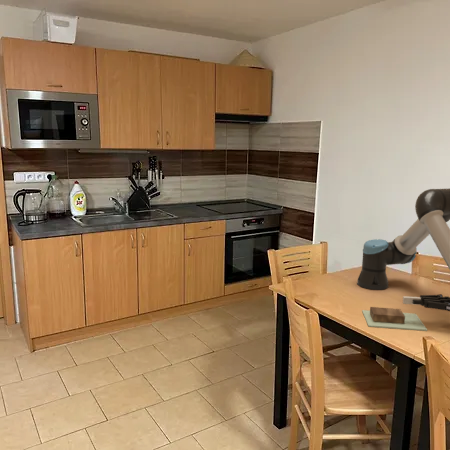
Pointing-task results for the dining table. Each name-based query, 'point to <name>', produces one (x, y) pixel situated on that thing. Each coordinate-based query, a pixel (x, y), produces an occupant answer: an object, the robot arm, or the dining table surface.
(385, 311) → the slim walnut box
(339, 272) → the dining table surface
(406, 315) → the mat
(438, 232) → the robot arm
